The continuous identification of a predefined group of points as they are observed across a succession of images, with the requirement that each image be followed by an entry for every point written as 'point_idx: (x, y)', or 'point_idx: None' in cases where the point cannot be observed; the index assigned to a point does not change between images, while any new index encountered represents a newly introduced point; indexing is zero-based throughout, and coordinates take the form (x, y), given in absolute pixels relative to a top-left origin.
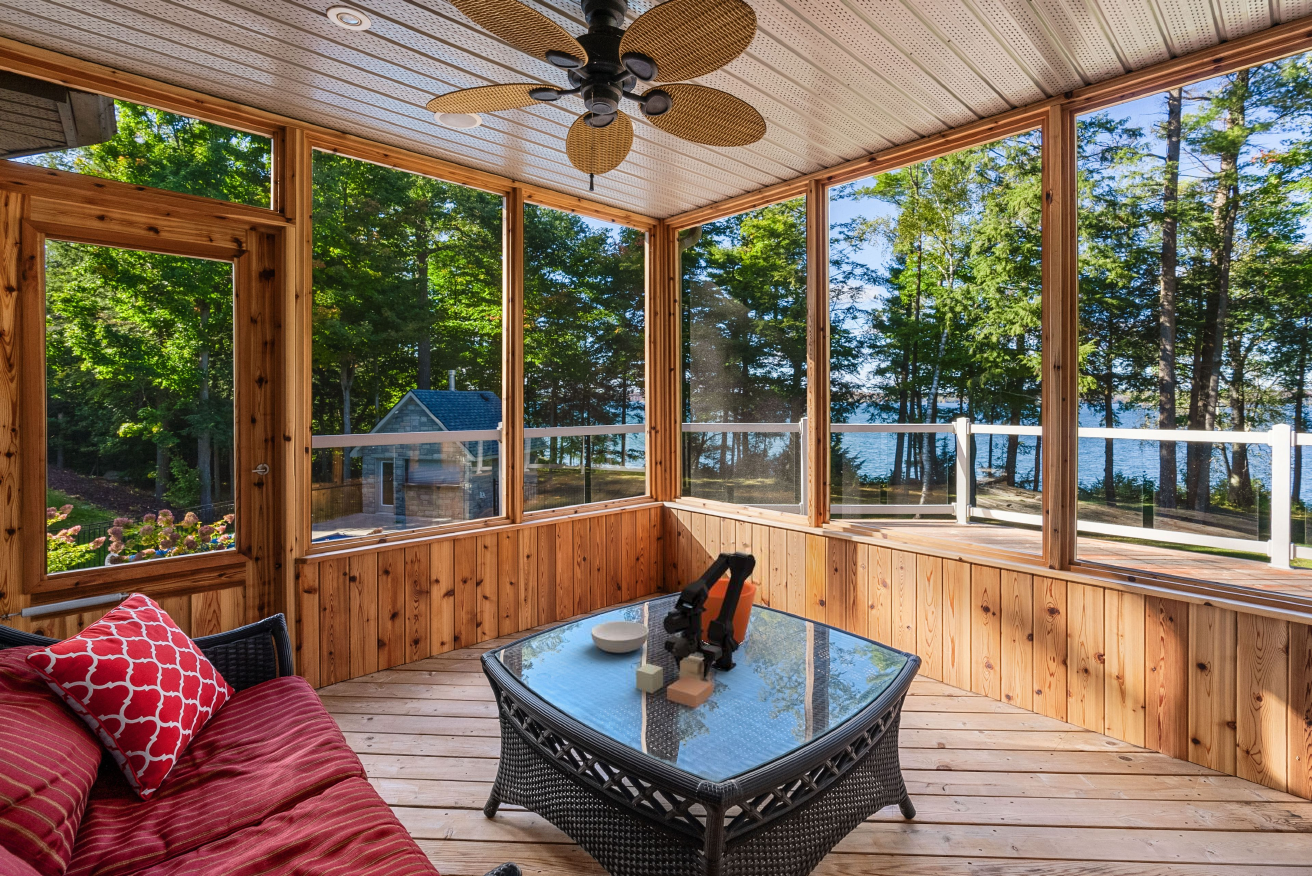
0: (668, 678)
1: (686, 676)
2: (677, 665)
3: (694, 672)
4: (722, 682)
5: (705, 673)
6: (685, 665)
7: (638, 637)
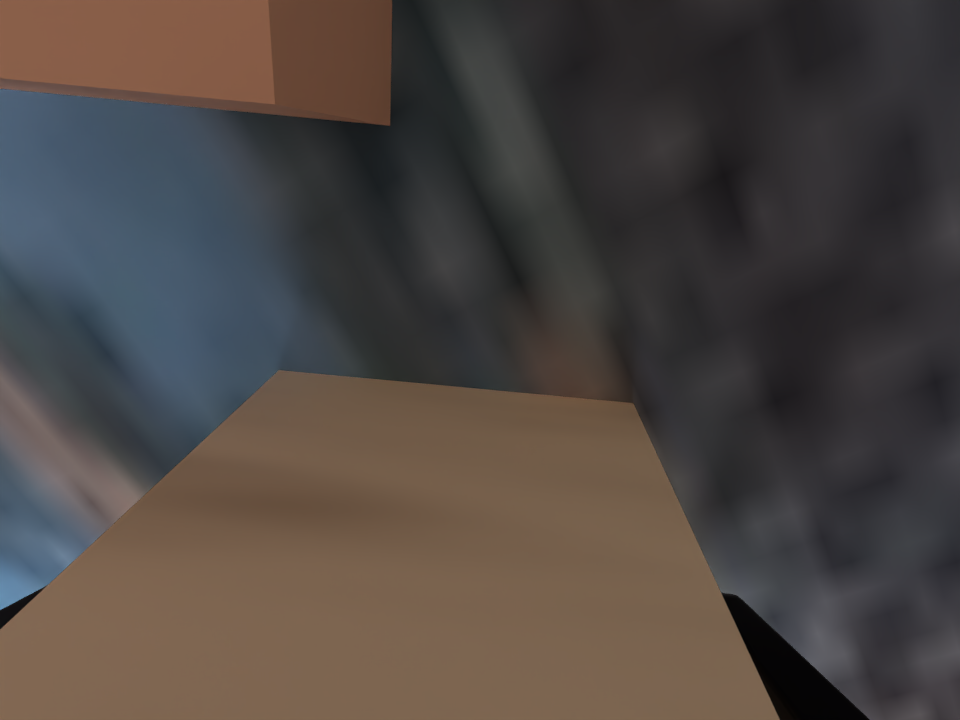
0: (877, 348)
1: (174, 78)
2: (845, 708)
3: (191, 515)
4: (6, 573)
5: (22, 599)
6: (501, 693)
7: None
